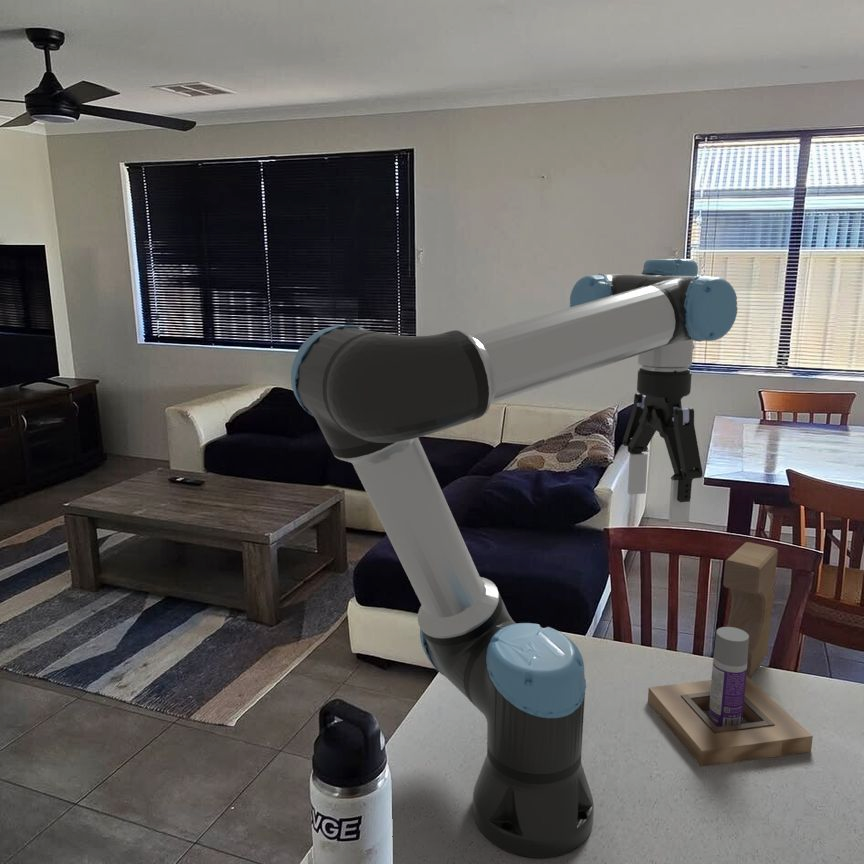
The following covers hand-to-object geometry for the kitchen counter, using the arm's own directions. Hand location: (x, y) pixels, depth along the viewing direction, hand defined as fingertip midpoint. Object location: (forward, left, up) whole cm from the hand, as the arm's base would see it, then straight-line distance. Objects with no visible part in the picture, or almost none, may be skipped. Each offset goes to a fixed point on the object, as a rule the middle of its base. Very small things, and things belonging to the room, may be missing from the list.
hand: (656, 506), depth 114 cm
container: (+8, -10, -32) cm, 34 cm away
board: (+8, -10, -32) cm, 34 cm away
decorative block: (+21, +6, -32) cm, 39 cm away
